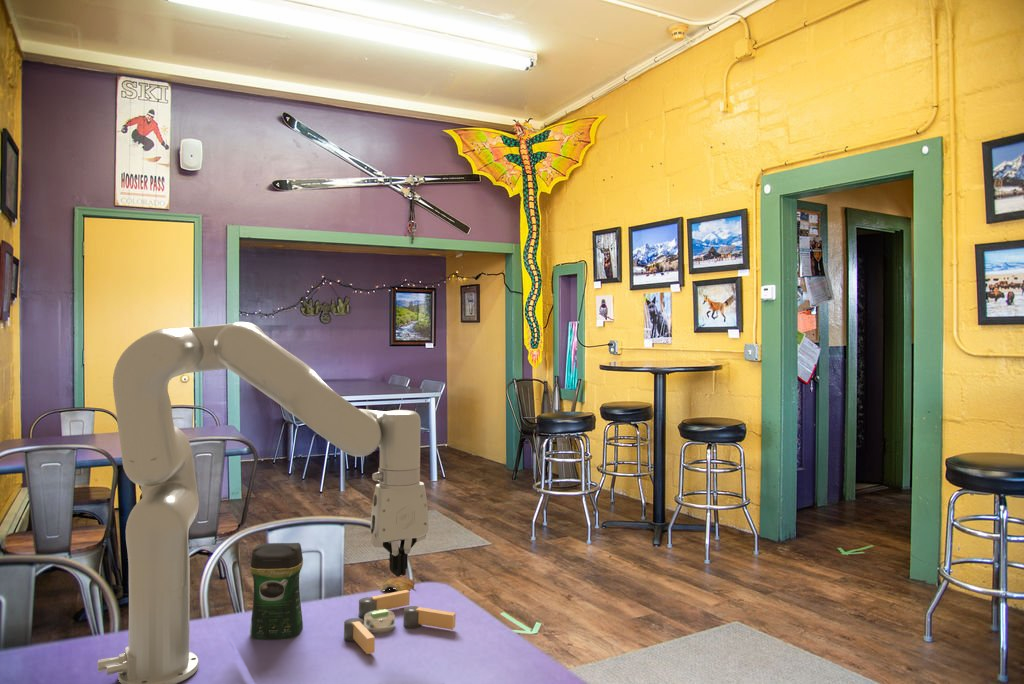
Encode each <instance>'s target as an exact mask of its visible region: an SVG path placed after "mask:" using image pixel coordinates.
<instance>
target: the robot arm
mask: <svg viewBox="0 0 1024 684" xmlns="http://www.w3.org/2000/svg"><path fill="white" fill-rule="evenodd" d="M220 370H230V371H231V372H233V373H234V374H235V375H237V376H238V377H240V378H242V379H243V380H244V381H246V382H247V383H248V384H250V385H252V387H254V388H256V389H257V390H258V391H260V392H262V393H263V394H264V395H266V396H267V397H268V398H270V399H271V400H273V401H274V402H275V403H277V404H278V405H280V407H282V408H283V409H284V410H286V411H287V412H288V413H289V414H291V415H292V416H293V417H295V418H296V419H298V420H299V421H300V422H302V423H303V424H304V425H306V427H308V428H309V429H311V430H312V431H313V432H315V433H316V434H317V435H319V436H321V437H322V438H324V439H325V440H326V441H328V442H329V443H330V444H332V445H333V446H335V447H336V448H337V449H339V450H340V451H342V452H344V453H346V454H347V455H348V456H352V457H357V458H358V457H359V458H360V457H367V456H369V455H371V454H372V453H374V452H375V451H376V450H377V449H378V448H379V467H378V471H377V472H373V473H372V474H371V475H372V476H371V477H372V480H373V481H377V482H378V483H377V484H375V489H374V493H373V498H372V504H371V511H370V513H371V515H370V534H371V539H370V545H371V546H372V547H375V548H381V549H382V548H383V549H385V550H386V551H387V552H388V553H389V559H388V560H389V563H388V564H389V571H390V572H391V574H393V575H394V576H396V578H397V577H398V578H399V577H401V576H402V577H405V576H406V573H407V569H408V558H409V556H408V554H409V553H410V552H411V550H412V548H413V547H414V545H416V543H418V542H420V541H423V540H425V539H426V538H427V534H428V531H429V509H428V499H427V492H426V486H425V483H424V482H423V481H421V429H422V428H421V424H422V421H421V417H420V414H419V413H418V412H416V411H414V410H408V409H394V410H387V411H383V410H373V409H365V408H358V407H357V406H355V405H353V404H352V403H351V402H349V401H348V400H347V399H345V398H343V397H342V396H341V395H340V394H339V393H337V392H336V391H335V390H333V389H332V388H331V387H330V385H328V384H327V383H326V382H325V381H324V380H323V378H321V376H320V375H319V374H318V373H317V372H316V371H315V370H314V369H313V368H312V367H311V366H310V365H308V364H307V363H306V362H304V361H303V360H301V359H300V358H298V357H297V356H296V355H294V354H292V353H291V352H290V351H288V350H287V349H285V348H284V347H283V346H281V345H280V344H279V343H277V342H276V341H274V340H273V339H272V338H270V337H269V336H268V335H267V334H265V333H264V331H263V329H261V328H260V327H259V326H258V325H256V324H254V323H252V322H247V321H235V322H232V323H226V324H216V325H205V326H204V325H203V326H202V325H201V326H189V327H175V328H174V327H172V328H171V327H168V328H160V329H156V330H153V331H151V332H149V333H146V334H144V335H143V336H141V337H139V338H137V340H135V341H133V342H132V343H131V344H130V345H128V346H127V347H126V349H125V350H124V351H123V352H122V353H121V355H120V356H119V359H118V360H117V362H116V364H115V368H114V371H113V377H112V389H113V399H114V406H115V412H116V422H117V423H116V424H117V431H118V438H119V444H120V451H121V452H120V453H121V461H122V468H123V471H124V474H125V475H126V476H127V478H128V479H129V481H131V482H132V483H133V484H136V485H137V486H140V490H141V491H140V492H141V499H140V500H138V502H136V504H135V505H134V506H133V508H132V509H131V511H130V513H129V515H128V518H127V520H126V525H125V542H126V543H125V544H126V550H127V559H128V560H127V562H128V646H126V647H125V651H124V652H122V653H119V654H118V656H114V657H107V658H106V657H105V658H101V659H97V673H99V672H105V671H106V675H107V676H109V675H113V674H116V673H117V680H119V681H118V683H119V682H120V683H121V684H179V683H182V682H184V681H185V680H187V679H189V678H190V677H191V676H194V674H195V673H196V672H197V670H198V669H199V663H200V662H199V657H198V656H197V655H196V654H195V653H193V652H191V651H190V605H191V604H190V603H191V602H190V598H191V596H190V595H191V594H190V593H191V592H190V590H191V587H190V586H191V585H190V583H191V581H190V579H191V576H190V575H191V574H190V572H191V571H190V570H191V567H190V565H191V564H190V550H189V549H190V548H189V530H190V527H191V526H192V524H193V522H194V521H195V519H196V517H197V514H198V513H199V512H198V511H199V506H200V504H199V503H200V500H199V491H198V484H197V478H196V472H195V464H194V457H193V450H192V446H191V443H190V440H189V439H188V436H187V435H186V434H185V433H184V431H182V430H181V429H180V428H178V427H176V426H175V423H174V418H173V409H172V402H171V397H170V395H169V391H168V389H169V383H170V381H171V380H172V379H173V378H176V377H178V376H181V375H184V374H190V373H191V374H192V373H199V372H200V373H202V372H211V371H220ZM398 541H399V542H398ZM120 683H119V684H120Z"/></svg>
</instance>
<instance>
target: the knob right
mask: <svg viewBox="0 0 1024 684" xmlns="http://www.w3.org/2000/svg"><path fill="white" fill-rule="evenodd" d="M402 615H403V623H402V625H403V627H405V628H406V629H415V628H416V629H417V628H419V627H421V626H428V627H435V628H439V629H446V630H454V629H455V628H456V615H457V614H456V612H453V611H446V610H439V609H433V608H428V607H421V606H417V605H411V606H410V605H408V606H405V607H404V608H403V614H402Z"/></svg>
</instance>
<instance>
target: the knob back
mask: <svg viewBox="0 0 1024 684" xmlns="http://www.w3.org/2000/svg"><path fill="white" fill-rule="evenodd" d="M410 601H411V600H410V591H408V590H403V591H398V592H386V593H383V594H378V595H374V596H368V597H362V598H360V599H359V600H358V618H359V619H364V615H365V614H366V613H368V612H370V611H374V610H384V609H387V610H392V609H398V608H400V607H408V606H410Z"/></svg>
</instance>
